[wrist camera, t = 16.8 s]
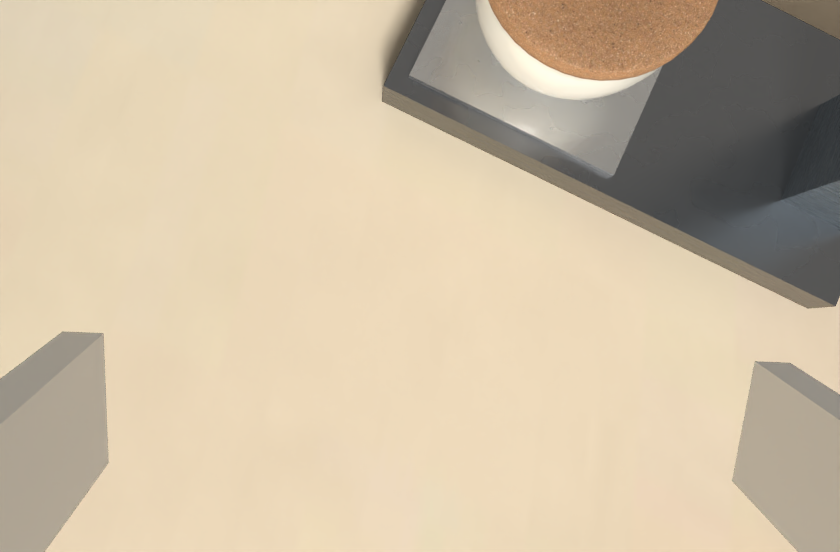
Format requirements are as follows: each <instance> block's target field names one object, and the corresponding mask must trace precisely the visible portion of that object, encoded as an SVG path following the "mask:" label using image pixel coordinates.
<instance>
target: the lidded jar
mask: <svg viewBox="0 0 840 552" xmlns="http://www.w3.org/2000/svg"><path fill="white" fill-rule="evenodd" d="M475 1H476V10H477V16H478V20H479V24H480V29H481V31H482V34H483V36H484V38H485V41H486V43H487V45H488V47H489V48H490V50H491V52H492V53H493V55H494V56H495V58H496V60H497V61H498V62H499V63H500V64H501V65H502V67H503V68H504V69H505V70H506V71H507V72H508V73H509V74H510V75H511V76H513V77H514V78H515V79H516V80H517V81H519V82H520V83H522V84H523V85H525V86H527V87H528V88H530V89H532V90H534V91H537V92H539V93H541V94H544V95H548V96H551V97H555V98H562V99H570V100H588V99H594V98H599V97H604V96H608V95H611V94H614V93H616V92H619V91H622V90H624V89H627V88H629V87H631V86H632V85H634V84H636V83H638V82H639V81H641V80H643V79H645V78H646V77H648V76H650V75H651V74H652V73H654V72H655V71H656V70H657V69H659V68H660V67H661V66H662V65H664V64H666V63H668V62H669V61H671V60H672V59H674V58H675V57H676V56H677V55H678V54H680V53H681V52H682V51H683V50H684V49H686V48H687V47H688V46H689V45H690V44H691V43H692V42H693V41H694V40H695V39H696V38H697V36H698V35H699V34H700V33H701V32H702V31H703V29H704V28H705V26H706V25H707V23H708V21H709V20H710V18H711V16H712V15H713V12H714V10H715V7H716V5H717V2H718V0H475Z"/></svg>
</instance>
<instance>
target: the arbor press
mask: <svg viewBox="0 0 840 552" xmlns="http://www.w3.org/2000/svg"><path fill="white" fill-rule="evenodd" d="M382 101H383V102H385V103H387V104H389V105H391V106H393V107H395V108H397V109H399V110H401V111H403V112H405V113H407V114H409V115H411V116H413V117H416V118H418V119H420V120H422V121H424V122H426V123H428V124H430V125H432V126H434V127H436V128H438V129H440V130H442V131H444V132H446V133H448V134H450V135H453V136H455V137H457V138H459V139H461V140H463V141H465V142H467V143H469V144H471V145H473V146H475V147H477V148H479V149H481V150H483V151H485V152H487V153H490V154H492V155H494V156H496V157H498V158H500V159H502V160H504V161H506V162H508V163H510V164H512V165H514V166H516V167H518V168H520V169H522V170H524V171H527V172H529V173H531V174H533V175H535V176H537V177H539V178H541V179H543V180H545V181H547V182H549V183H551V184H553V185H555V186H557V187H559V188H561V189H564V190H566V191H568V192H570V193H572V194H574V195H576V196H578V197H580V198H582V199H584V200H586V201H588V202H590V203H592V204H594V205H596V206H598V207H600V208H603V209H605V210H607V211H609V212H611V213H613V214H615V215H617V216H619V217H621V218H623V219H625V220H627V221H629V222H631V223H633V224H635V225H637V226H640V227H642V228H644V229H646V230H648V231H650V232H652V233H654V234H656V235H658V236H660V237H662V238H664V239H666V240H668V241H670V242H672V243H674V244H677V245H679V246H681V247H683V248H685V249H687V250H689V251H691V252H693V253H695V254H697V255H699V256H701V257H703V258H705V259H707V260H709V261H711V262H714V263H716V264H718V265H720V266H722V267H724V268H726V269H728V270H730V271H732V272H734V273H736V274H738V275H740V276H742V277H744V278H746V279H748V280H751V281H753V282H755V283H757V284H759V285H761V286H763V287H765V288H767V289H769V290H771V291H773V292H775V293H777V294H779V295H781V296H783V297H785V298H788V299H790V300H792V301H794V302H796V303H798V304H800V305H802V306H804V307H806V308H820V307H833V306H836V304H837V301H838V299H839V296H840V40H839V39H837V38H835V37H833V36H831V35H829V34H827V33H825V32H823V31H821V30H819V29H817V28H815V27H813V26H811V25H809V24H807V23H805V22H803V21H801V20H799V19H797V18H795V17H793V16H791V15H789V14H787V13H785V12H783V11H781V10H779V9H777V8H776V7H774V6H772V5H770V4H768V3H766V2H764V1H762V0H718V2H717V5H716V7H715V10H714V12H713V15H712V16H711V18H710V20H709V21H708V23H707V25H706V26H705V28H704V29H703V31H702V32H701V33H700V34H699V35H698V36H697V38H696V39H695V40H694V41H693V42H692V43H691V44H690V45H689V46H688V47H687V48H686V49H684V50H683V51H682V52H681V53H680V54H678V55H677V56H676V57H675V58H674V59H672V60H671V61H669V62H668V63H666V64H664V65H662V66H661V67H660V68H659V69H657V70H656V71H655V72H654V73H652V74H651V75H650V76H648V77H646V78H645V79H643V80H641V81H639V82H638V83H636V84H634V85H632V86H631V87H629V88H627V89H624V90H622V91H619V92H616V93H614V94H611V95H608V96H604V97H599V98H594V99H588V100H570V99H562V98H555V97H551V96H548V95H544V94H541V93H539V92H537V91H534V90H532V89H530V88H528V87H527V86H525V85H523V84H522V83H520V82H519V81H517V80H516V79H515V78H514V77H513V76H511V75H510V74H509V73H508V72H507V71H506V70H505V69H504V68H503V67H502V65H501V64H500V63H499V62H498V61H497V60H496V58H495V56H494V55H493V53H492V52H491V50H490V48H489V47H488V45H487V43H486V41H485V38H484V36H483V34H482V31H481V29H480V24H479V20H478V16H477V10H476V1H475V0H426V1H425V3H424V5H423V7H422V9H421V11H420V13H419V15H418V17H417V19H416V21H415V23H414V25H413V27H412V29H411V31H410V33H409V35H408V37H407V40H406V42H405V44H404V46H403V48H402V50H401V52H400V54H399V56H398V58H397V60H396V62H395V64H394V66H393V68H392V70H391V72H390V74H389V76H388V78H387V80H386V82H385V84H384V86H383V96H382Z"/></svg>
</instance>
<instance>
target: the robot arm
mask: <svg viewBox="0 0 840 552" xmlns="http://www.w3.org/2000/svg"><path fill="white" fill-rule="evenodd" d="M107 464H108V437H107V411H106V385H105V360H104V334H103V333H83V332H61V333H60V334H59V335H57V336H56V337H55V338H53V339H52V340H51V341H49V342H48V343H47V344H46V345H44V346H43V347H42V348H40V349H39V350H38V351H36V352H35V353H34V354H32V355H31V356H30V357H28V358H27V359H26V360H25V361H23V362H22V363H21V364H19V365H18V366H17V367H15V368H14V369H13V370H11V371H10V372H9V373H7V374H6V375H5V376H3V377H2V378H1V379H0V552H45V550H46V549H47V548H48V546H49V545H50V543H51V542H52V541H53V539H54V538H55V537H56V535H57V534H58V532H59V531H60V530H61V528H62V527H63V525H64V524H65V523H66V521H67V520H68V518H69V517H70V516H71V514H72V513H73V511H74V510H75V509H76V507H77V506H78V505H79V503H80V502H81V500H82V499H83V498H84V496H85V495H86V493H87V492H88V491H89V489H90V488H91V486H92V485H93V484H94V482H95V481H96V479H97V478H98V477H99V475H100V474H101V473H102V471H103V470H104V468H105V467H106V466H107ZM732 481H733V483H734V484H735V485H736V486H737V487H738V488H739V489H740V490H741V491H742V492H743V493H744V494H745V495H746V496H747V498H748V499H749V500H750V501H751V502H752V503H753V504H754V505H755V506H756V507H757V508H758V509H759V510H760V511H761V513H762V514H763V515H764V516H765V517H766V518H767V519H768V520H769V521H770V522H771V523H772V524H773V525H774V526H775V528H776V529H777V530H778V531H779V532H780V533H781V534H782V535H783V536H784V537H785V538H786V539H787V540H788V541H789V543H790V544H791V545H792V546H793V547H794V548H795V549H796V550H797V551H798V552H840V394H838V393H836V392H835V391H833V390H832V389H830V388H829V387H827V386H825V385H824V384H822V383H821V382H819V381H818V380H816V379H814V378H813V377H811V376H810V375H808V374H807V373H805V372H804V371H802V370H800V369H799V368H797V367H796V366H794V365H793V364H791V363H781V362H757V361H755V363H754V368H753V374H752V379H751V384H750V390H749V395H748V400H747V405H746V411H745V416H744V421H743V426H742V432H741V437H740V442H739V447H738V453H737V458H736V463H735V468H734V474H733V479H732Z"/></svg>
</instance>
